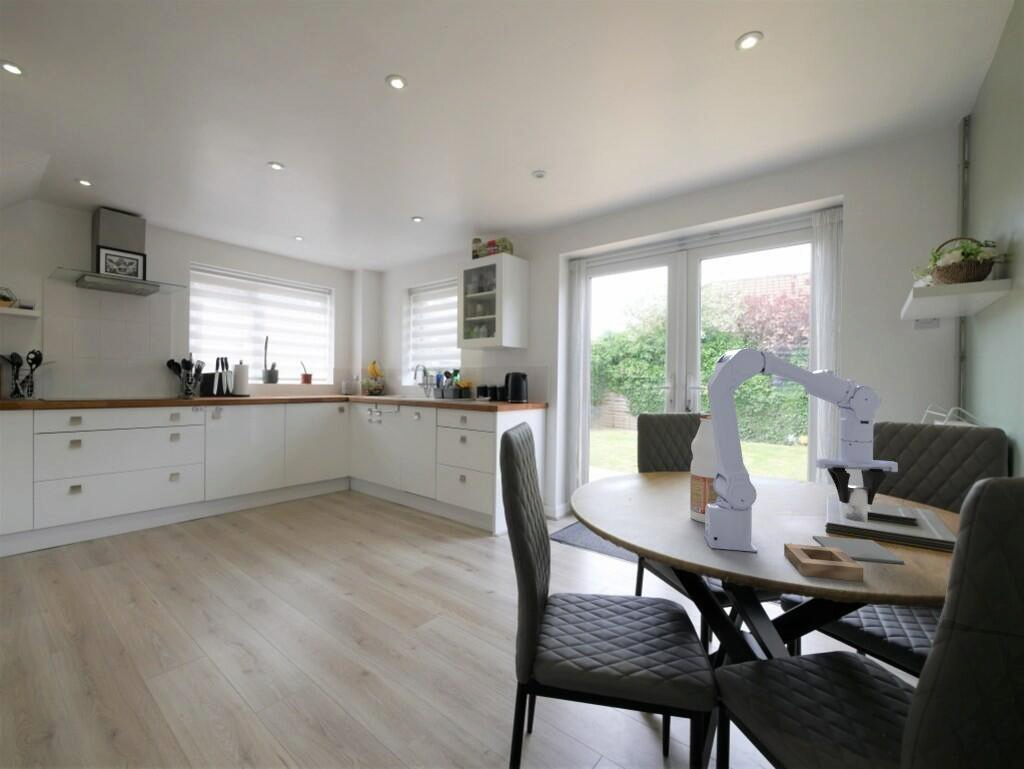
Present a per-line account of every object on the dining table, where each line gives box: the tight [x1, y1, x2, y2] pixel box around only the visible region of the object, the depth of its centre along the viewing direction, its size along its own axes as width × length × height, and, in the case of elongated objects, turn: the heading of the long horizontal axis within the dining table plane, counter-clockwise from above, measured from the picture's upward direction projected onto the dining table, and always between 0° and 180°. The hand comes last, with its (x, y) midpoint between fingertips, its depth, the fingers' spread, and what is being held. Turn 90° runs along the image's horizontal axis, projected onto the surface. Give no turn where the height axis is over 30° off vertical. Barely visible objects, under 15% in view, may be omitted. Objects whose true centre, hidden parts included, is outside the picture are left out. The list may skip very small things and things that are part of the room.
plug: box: [843, 484, 869, 523], centre depth 97 cm, size 4×4×7 cm
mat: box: [812, 535, 905, 565], centre depth 98 cm, size 12×12×1 cm
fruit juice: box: [689, 413, 718, 524], centre depth 119 cm, size 9×9×28 cm
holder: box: [783, 543, 864, 582], centre depth 89 cm, size 10×10×2 cm
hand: (855, 502), depth 97 cm, fingers closed on plug, 4 cm apart
